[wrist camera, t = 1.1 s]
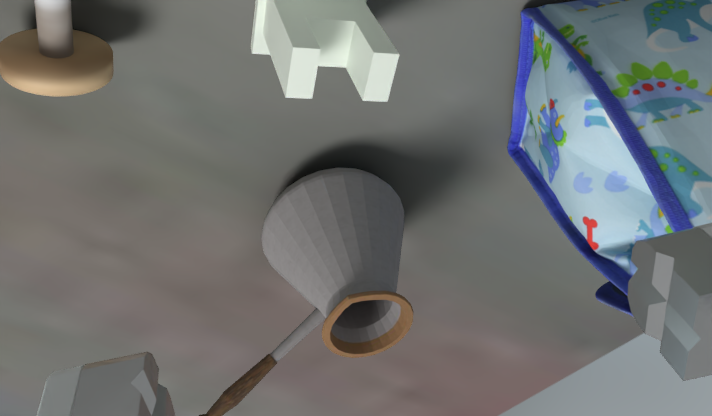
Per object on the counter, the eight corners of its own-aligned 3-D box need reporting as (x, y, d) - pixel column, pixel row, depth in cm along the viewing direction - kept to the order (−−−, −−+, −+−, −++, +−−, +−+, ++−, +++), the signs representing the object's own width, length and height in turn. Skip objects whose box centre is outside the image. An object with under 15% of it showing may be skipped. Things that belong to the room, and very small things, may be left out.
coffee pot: (362, 125, 51) (430, 262, 40) (412, 220, 59) (480, 357, 48) (117, 252, 53) (117, 417, 42) (197, 328, 60) (214, 484, 49)
